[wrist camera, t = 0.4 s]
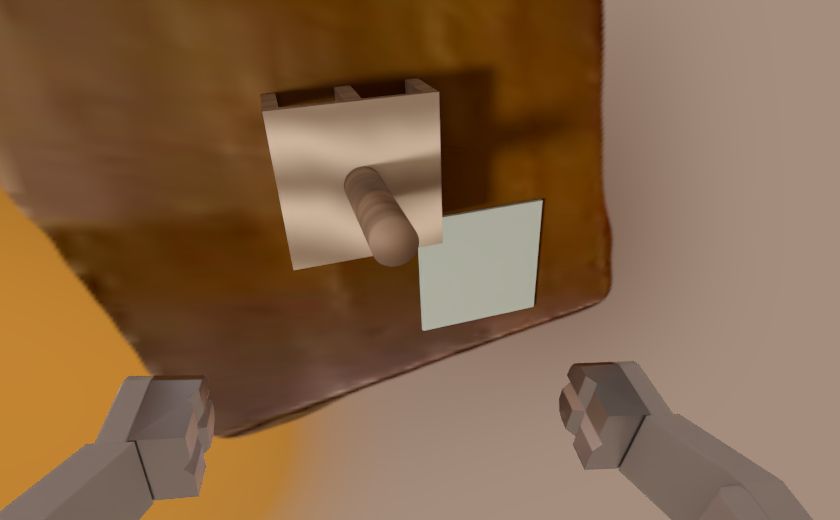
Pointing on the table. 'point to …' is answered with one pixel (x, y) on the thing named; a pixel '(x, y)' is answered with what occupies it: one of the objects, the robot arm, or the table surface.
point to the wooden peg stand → (358, 175)
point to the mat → (481, 264)
